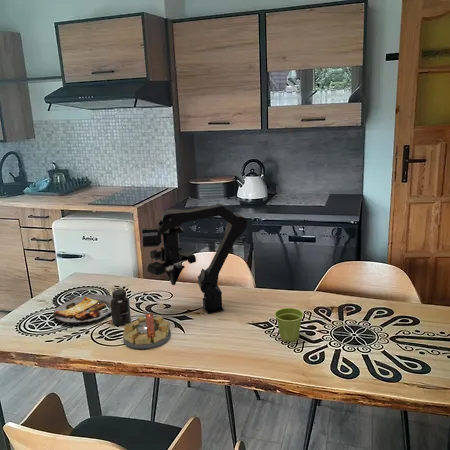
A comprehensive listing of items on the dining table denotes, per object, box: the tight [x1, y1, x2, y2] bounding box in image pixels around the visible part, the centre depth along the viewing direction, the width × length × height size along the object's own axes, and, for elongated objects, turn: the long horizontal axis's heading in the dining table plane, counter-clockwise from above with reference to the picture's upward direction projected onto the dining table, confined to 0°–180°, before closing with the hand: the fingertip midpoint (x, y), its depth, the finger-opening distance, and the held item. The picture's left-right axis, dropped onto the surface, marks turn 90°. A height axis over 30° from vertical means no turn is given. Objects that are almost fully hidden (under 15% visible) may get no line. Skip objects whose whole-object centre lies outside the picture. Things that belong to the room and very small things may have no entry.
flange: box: [122, 322, 172, 351], centre depth 155 cm, size 16×16×5 cm
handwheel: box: [122, 312, 171, 345], centre depth 154 cm, size 15×15×10 cm
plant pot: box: [274, 307, 304, 343], centre depth 150 cm, size 9×9×9 cm
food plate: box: [52, 294, 113, 324], centre depth 177 cm, size 25×23×4 cm
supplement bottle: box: [110, 289, 132, 327], centre depth 166 cm, size 7×7×12 cm
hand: (173, 284), depth 168 cm, fingers closed
